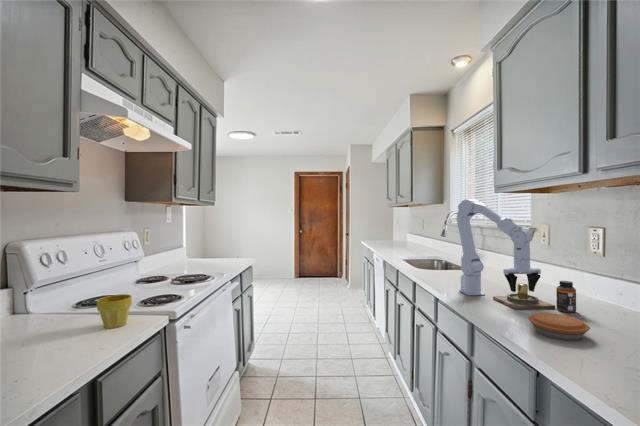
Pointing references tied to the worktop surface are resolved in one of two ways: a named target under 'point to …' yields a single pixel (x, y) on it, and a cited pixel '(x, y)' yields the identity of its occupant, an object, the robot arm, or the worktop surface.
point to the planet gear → (522, 292)
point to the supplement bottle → (566, 297)
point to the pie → (558, 326)
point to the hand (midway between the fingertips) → (522, 291)
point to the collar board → (522, 306)
